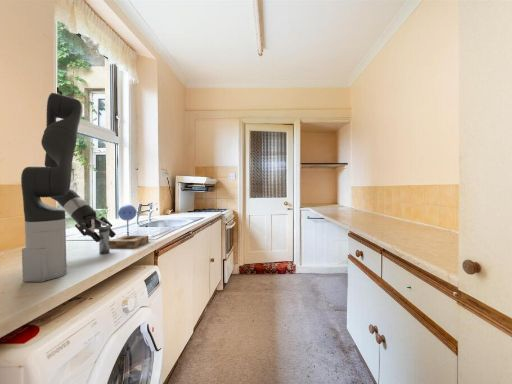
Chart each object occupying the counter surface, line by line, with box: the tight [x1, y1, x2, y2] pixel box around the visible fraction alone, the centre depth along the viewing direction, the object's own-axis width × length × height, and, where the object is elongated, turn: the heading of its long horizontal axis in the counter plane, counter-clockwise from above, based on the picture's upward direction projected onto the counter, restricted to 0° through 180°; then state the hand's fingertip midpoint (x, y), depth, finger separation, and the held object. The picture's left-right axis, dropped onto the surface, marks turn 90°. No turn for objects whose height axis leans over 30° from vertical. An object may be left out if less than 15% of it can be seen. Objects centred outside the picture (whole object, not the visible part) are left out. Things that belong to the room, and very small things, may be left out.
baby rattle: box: [117, 204, 137, 236], centre depth 126 cm, size 9×9×18 cm
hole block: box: [109, 235, 150, 249], centre depth 112 cm, size 12×12×3 cm
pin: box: [96, 224, 112, 255], centre depth 98 cm, size 5×5×11 cm
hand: (107, 238), depth 98 cm, fingers open, 8 cm apart
